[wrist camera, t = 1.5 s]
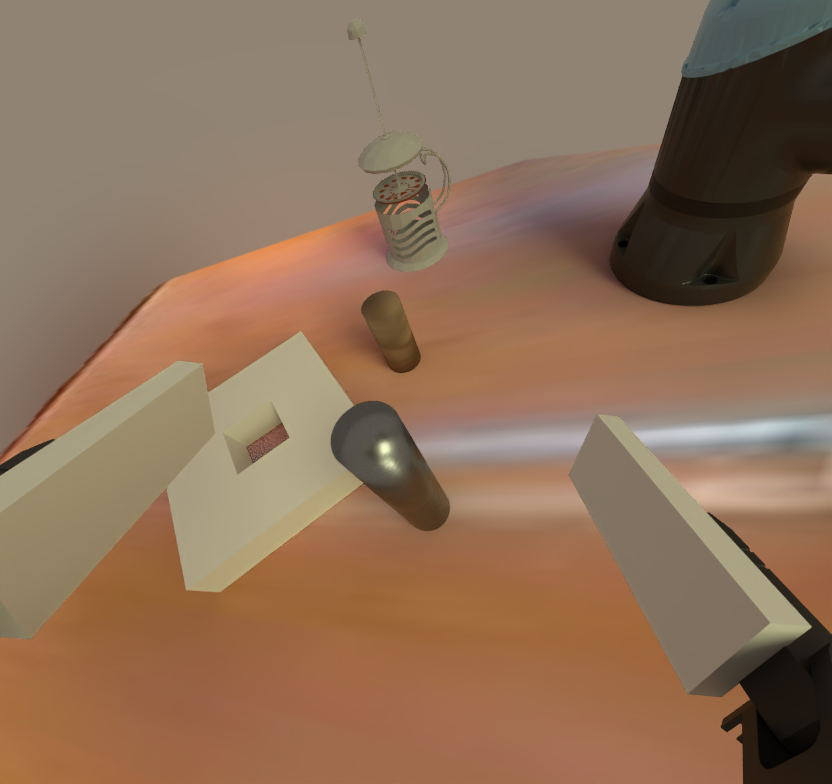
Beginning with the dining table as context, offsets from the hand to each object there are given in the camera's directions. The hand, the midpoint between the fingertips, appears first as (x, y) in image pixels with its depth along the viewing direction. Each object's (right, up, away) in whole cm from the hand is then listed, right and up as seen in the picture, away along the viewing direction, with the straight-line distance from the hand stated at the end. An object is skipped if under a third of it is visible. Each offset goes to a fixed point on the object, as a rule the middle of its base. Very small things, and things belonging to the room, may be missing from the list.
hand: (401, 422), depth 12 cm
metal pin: (+2, -9, +20) cm, 22 cm away
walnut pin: (-1, +5, +30) cm, 30 cm away
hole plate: (-15, -5, +27) cm, 32 cm away
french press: (+1, +23, +41) cm, 47 cm away
